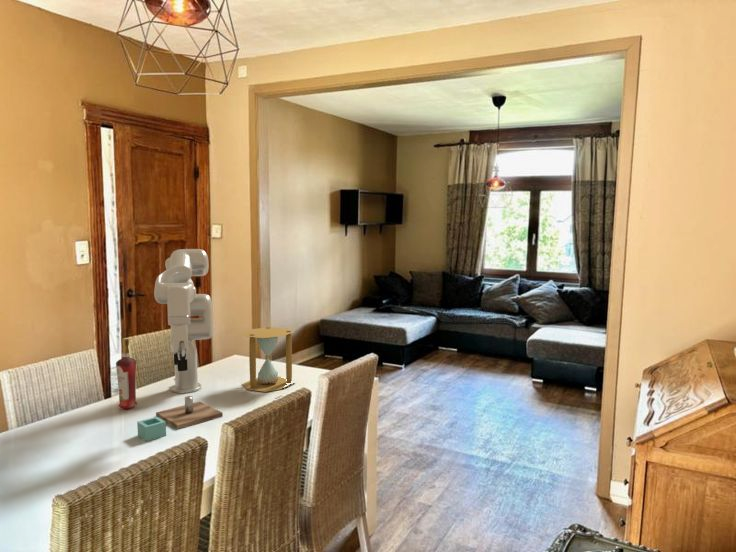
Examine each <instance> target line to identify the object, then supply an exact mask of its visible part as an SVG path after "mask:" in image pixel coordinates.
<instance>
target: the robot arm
mask: <svg viewBox="0 0 736 552" xmlns="http://www.w3.org/2000/svg"><path fill="white" fill-rule="evenodd" d="M164 265H165V270H164V271H163V272H161V273H160V274H159V275H158V276H157V277H156V279H155V282H154V283H155V284H154V290H153V293H154V294H153V295H154V300H155V301H156V303H158V304H163V305H164V304H165V305H166V306H167V325H168V326H170V351H171V352H172V354H173V365H174V379H173V380H174V385H172V387H171V391H172V392H174V393H177V394H178V393H179V394H185V393H187V394H189V393H193V392H194V393H195V392H196V391H200V389H202V384H201V383H200V382H198V381H199V380H198V352H197V351H198V350H197V346H195V344H194V343H193V342H192V341H199V340H200V341H201V340H209V339H211V338H212V336H213V334H214V322H213V320H214V317H213V316H214V315H213V301H212V298H211V296H210V295H209V294H207V293H197V288H196V287H195V285H194V281H193V280H192V277H203V276H206V275H207V274H208V272H209V268H210V267H209V266H210V265H209V255H208V254H207V252H206V251H205V250H204V249H201V248H183V249H176V250H174V251H172V253H171V254H170V257H168V258H167V259H166V260H165V263H164ZM196 316H200V317H199V318H191V317H196Z"/></svg>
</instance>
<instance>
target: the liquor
mask: <svg viewBox="0 0 736 552" xmlns="http://www.w3.org/2000/svg"><path fill="white" fill-rule="evenodd" d="M120 340H121V349H122V351H121V358H120V359H118V360H117V361H116V362H115V368H116V379H117V388H118V400H119V401H118V402H119V404H118V406H117V407H119V408H120V409H122V410H123V409H124V411H128V409H129V410H133V409H134V408H135V407H136V406H137V405H138V402H137V392H136V391H137V389H136V388H137V387H136V386H137V360H136V359H134V358H132V357H131V355H130V349H129V345H130V339H129V338H122V339H120Z"/></svg>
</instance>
